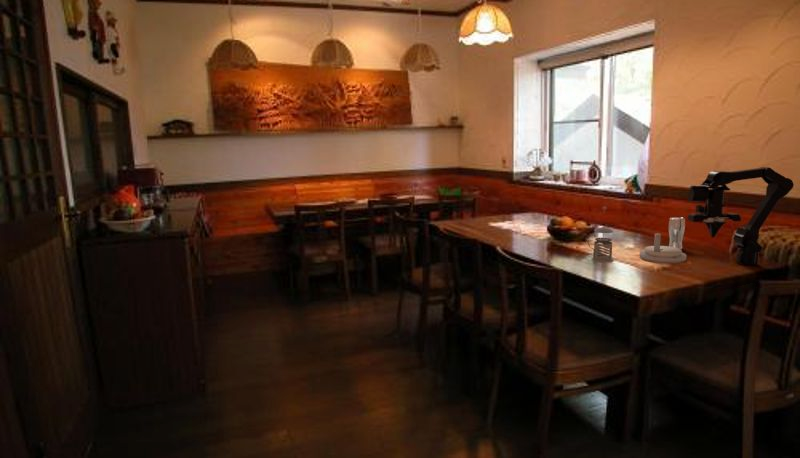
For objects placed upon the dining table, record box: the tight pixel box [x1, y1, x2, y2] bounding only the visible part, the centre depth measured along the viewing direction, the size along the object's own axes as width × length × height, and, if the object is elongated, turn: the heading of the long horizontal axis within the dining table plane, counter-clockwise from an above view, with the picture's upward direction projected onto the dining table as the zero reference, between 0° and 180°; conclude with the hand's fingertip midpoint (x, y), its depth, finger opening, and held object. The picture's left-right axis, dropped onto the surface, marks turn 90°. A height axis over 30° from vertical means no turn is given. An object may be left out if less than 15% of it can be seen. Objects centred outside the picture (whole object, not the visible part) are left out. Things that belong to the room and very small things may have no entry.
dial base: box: [639, 249, 687, 264], centre depth 224 cm, size 19×19×2 cm
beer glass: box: [668, 216, 686, 250], centre depth 241 cm, size 7×7×15 cm
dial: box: [644, 233, 683, 257], centre depth 223 cm, size 15×15×10 cm
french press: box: [587, 206, 615, 263], centre depth 224 cm, size 10×12×25 cm
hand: (712, 237), depth 209 cm, fingers closed
